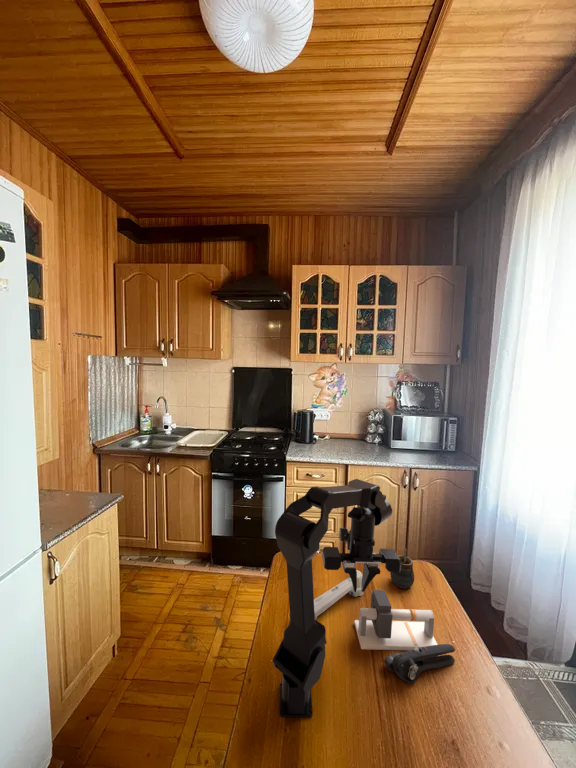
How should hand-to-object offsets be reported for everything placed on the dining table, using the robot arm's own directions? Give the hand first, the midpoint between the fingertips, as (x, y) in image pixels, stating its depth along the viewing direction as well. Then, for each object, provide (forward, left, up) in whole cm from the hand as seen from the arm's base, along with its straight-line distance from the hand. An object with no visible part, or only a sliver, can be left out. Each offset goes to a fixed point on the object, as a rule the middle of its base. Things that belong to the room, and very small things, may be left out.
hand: (358, 591), depth 87 cm
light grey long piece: (+11, +4, -12) cm, 17 cm away
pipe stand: (0, -10, -12) cm, 16 cm away
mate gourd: (+21, -19, -12) cm, 31 cm away
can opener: (-9, -14, -12) cm, 20 cm away
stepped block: (0, -6, -10) cm, 11 cm away
